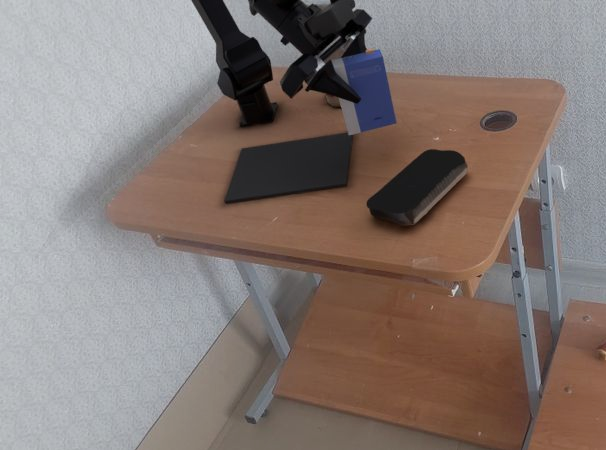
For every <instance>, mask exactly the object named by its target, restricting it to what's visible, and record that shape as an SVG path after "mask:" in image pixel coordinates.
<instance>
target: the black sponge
mask: <svg viewBox="0 0 606 450" xmlns="http://www.w3.org/2000/svg"><path fill="white" fill-rule="evenodd" d="M467 170H468V163H467V161H466V158H465V156H464V155H463V154H462V153H460V152H458V151H456V150H451V149H445V150H441V149H435V148H430V149H426V150H424V151H423V152H421V153H420V154H419V155H418V156H417V157H415V158H414V159H413V160H412V161H411V162H409V163H408V164H407V165H406V166H405V167H404V168H403V169H402V170H400V171H399V173H397V174H396V175H394V177H392V178H391V179H390V180H389V181H388V182H387V183H386V184H384V186H382V187H381V188H380V189H379V190H377V192H376V193H374V194H373V195H371V196H370V197H369V198H368V199H367V200H366V207H367V209H369V213H370V215H371V216H372V217H374V218H375V219H380V220H385V221H390V222H393V223H395V224H397V225H399V226H413V225H416V224H417V223H418V222H419V221H420V220H421V219H422V218H423V217H424V216H426V215H427V214H428V212H429V211H430V210H431V209H432V208H433V207H434V206H435V205H436V204H437V203H438V202H439V201H441V199H442V198H443V197H444V196H445V195H446V194H447V193H448V192H449V191H451V189H453V188H454V186H456V184H457V183H458V182H459V181H460V180H462V178H463V177H465V175H466V174H467V173H468V171H467Z"/></svg>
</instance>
